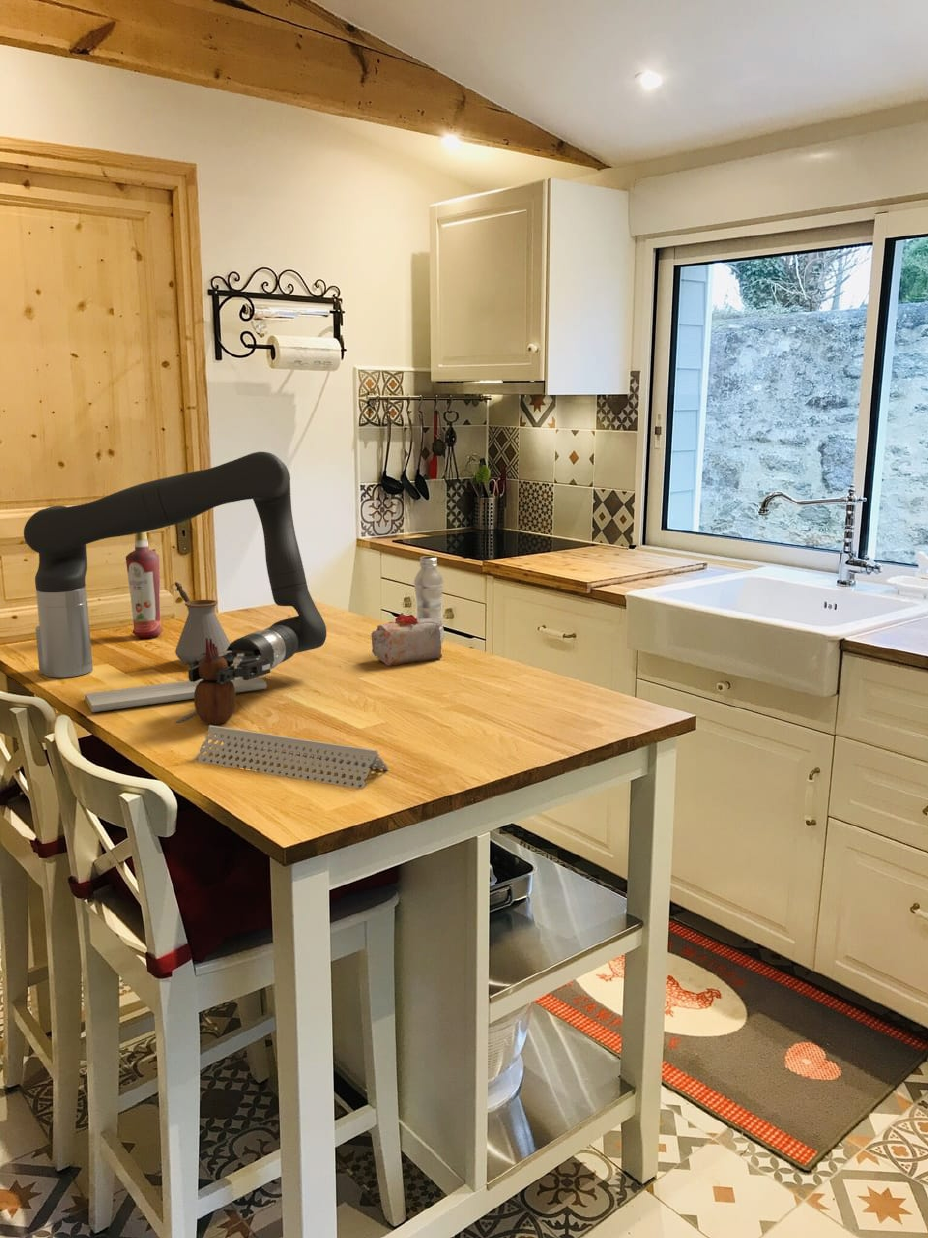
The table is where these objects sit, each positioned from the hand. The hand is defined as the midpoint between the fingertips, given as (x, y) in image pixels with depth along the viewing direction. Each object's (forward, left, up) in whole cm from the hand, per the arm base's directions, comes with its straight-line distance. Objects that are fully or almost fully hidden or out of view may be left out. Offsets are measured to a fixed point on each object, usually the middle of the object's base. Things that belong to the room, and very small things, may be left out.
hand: (204, 677), depth 165 cm
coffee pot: (-28, +40, -9) cm, 49 cm away
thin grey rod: (-6, +10, -9) cm, 14 cm away
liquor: (-50, +54, -9) cm, 74 cm away
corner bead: (+22, -12, -9) cm, 27 cm away
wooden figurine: (0, +3, -9) cm, 9 cm away
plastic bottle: (+16, +64, -9) cm, 66 cm away
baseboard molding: (-16, +15, -9) cm, 23 cm away
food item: (+15, +51, -9) cm, 54 cm away
